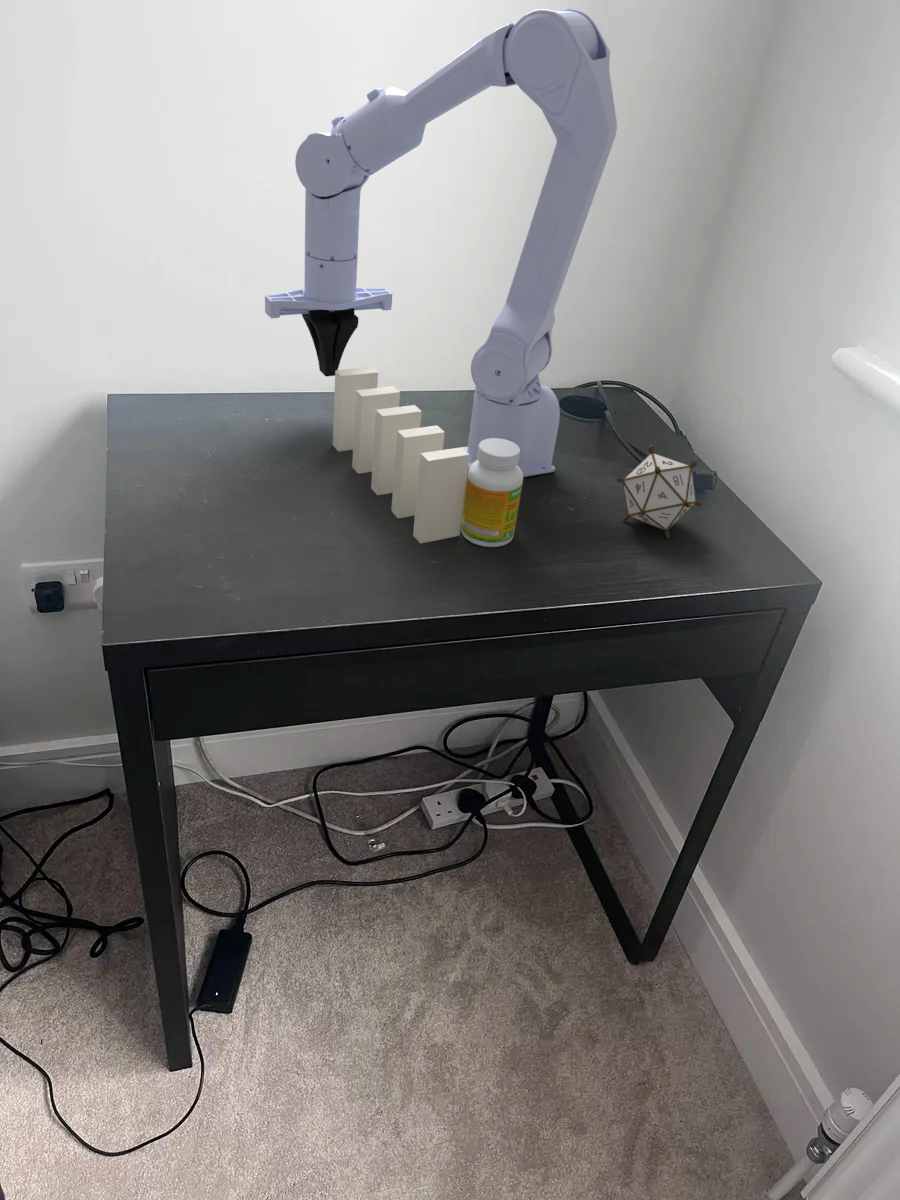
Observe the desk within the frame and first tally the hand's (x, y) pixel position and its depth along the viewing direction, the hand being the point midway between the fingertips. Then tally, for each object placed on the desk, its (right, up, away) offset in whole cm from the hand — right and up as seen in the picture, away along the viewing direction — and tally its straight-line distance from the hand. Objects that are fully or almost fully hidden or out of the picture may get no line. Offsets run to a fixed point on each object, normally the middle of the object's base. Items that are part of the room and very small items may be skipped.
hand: (328, 372), depth 107 cm
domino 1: (+3, -9, -2) cm, 10 cm away
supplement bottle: (+18, -20, -15) cm, 31 cm away
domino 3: (+8, -15, -9) cm, 19 cm away
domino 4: (+11, -18, -13) cm, 24 cm away
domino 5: (+13, -20, -16) cm, 29 cm away
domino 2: (+6, -12, -6) cm, 15 cm away
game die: (+36, -19, -10) cm, 41 cm away
